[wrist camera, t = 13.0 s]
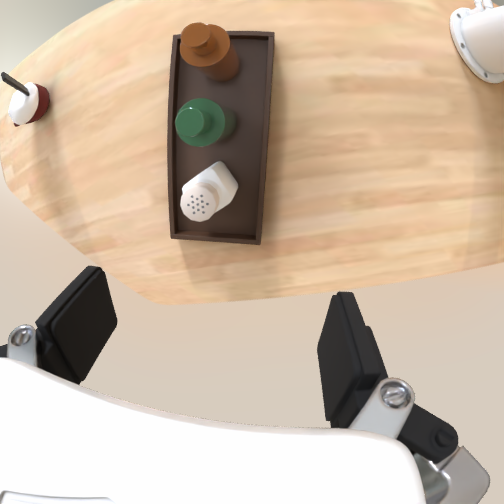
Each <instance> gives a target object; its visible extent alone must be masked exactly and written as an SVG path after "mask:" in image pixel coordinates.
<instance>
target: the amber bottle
mask: <svg viewBox="0 0 504 504" xmlns="http://www.w3.org/2000/svg"><path fill="white" fill-rule="evenodd" d="M180 53H181V56H182V58H183V59H184V60H185V61H186V62H187V63H188V64H190V65H191V66H193V67H194V68H196V69H197V70H198V71H200V72H201V73H203V74H204V75H205V76H207V77H208V78H209V79H211V80H213V81H216V82H226V81H229V80H231V79H233V78H234V77H235V76H236V75H237V74H238V72H239V70H240V67H241V62H240V59H239V57H238V54H237V52H236V50H235V48H234V46H233V44H232V42H231V40H230V38H229V36H228V34H227V32H226V31H225V30H224V29H222V28H221V27H219V26H216V25H212V24H204V23H192V24H190V25H188V26H187V27H185V28H184V29H183V31H182V33H181V44H180Z"/></svg>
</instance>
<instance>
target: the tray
mask: <svg viewBox="0 0 504 504" xmlns="http://www.w3.org/2000/svg"><path fill="white" fill-rule="evenodd" d="M226 32H227V34H228V36H229V38H230V40H231V42H232V44H233V46H234V48H235V50H236V52H237V54H238V57H239V59H240V62H241V67H240V70H239V72H238V74H237V75H236V76H235V77H234V78H233V79H231V80H229V81H226V82H216V81H213V80H211V79H209V78H208V77H207V76H205V75H204V74H203V73H201V72H200V71H198V70H197V69H196V68H194V67H193V66H191V65H190V64H188V63H187V62H186V61H185V60H184V59H183V58H182V56H181V53H180V44H181V34H179V35H173V43H172V54H171V66H170V80H169V99H168V135H167V161H168V199H169V219H170V235H171V239H185V240H199V241H213V242H227V243H241V244H254V245H260V244H261V230H262V217H263V203H264V189H265V175H266V160H267V146H268V131H269V115H270V100H271V83H272V67H273V50H274V32H261V31H226ZM197 98H206V99H210V100H212V101H215V102H217V103H220V104H222V105H224V106H227V107H229V108H230V109H231V110H233V112H234V113H235V115H236V117H237V128H236V130H235V132H234V133H233V134H232V135H231V136H230V137H229V138H227V139H224V140H222V141H219V142H216V143H213V144H210V145H207V146H203V147H195V146H191V145H189V144H187V143H185V142H184V141H183V140H182V139H181V138H180V137H179V135H178V133H177V130H176V126H175V120H176V117H177V114H178V112H179V110H180V109H181V107H182V106H183V105H184V104H186V103H187V102H189V101H191V100H193V99H197ZM218 161H221V162H223V163H224V164H225V165H226V167H227V168H228V170H229V171H230V173H231V174H232V176H233V177H234V179H235V180H236V181H237V183H238V189H237V191H236V193H235V195H234V197H233V199H232V201H231V202H230V203H229V204H228V205H226V206H225V207H223V208H222V209H220V210H219V211H217V212H215V213H214V214H213V215H212V216H211V217H210V218H209V219H208V220H205V221H201V222H198V221H193V220H190V219H189V218H188V217H187V216H186V215H184V213H183V211H182V208H181V206H180V204H181V196H182V195H183V191H182V188H183V186H184V185H185V184H186V183H188V182H189V181H190V180H191V179H193V178H194V177H195V176H197V175H198V174H200V173H201V172H203V171H204V170H205V169H207V168H208V167H210V166H211V165H213V164H214V163H216V162H218Z"/></svg>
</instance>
